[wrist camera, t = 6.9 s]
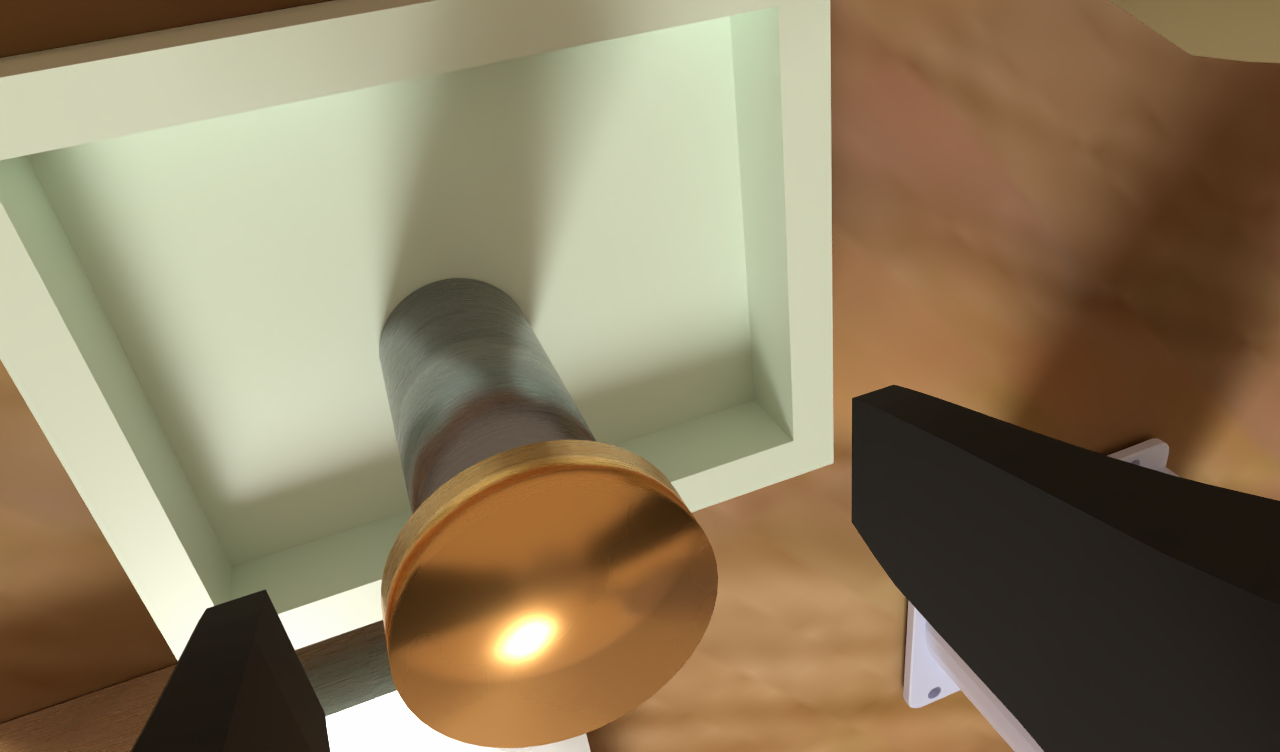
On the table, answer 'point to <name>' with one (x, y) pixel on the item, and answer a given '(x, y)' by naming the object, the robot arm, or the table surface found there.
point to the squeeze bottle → (1214, 26)
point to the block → (338, 671)
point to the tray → (405, 262)
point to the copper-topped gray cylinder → (524, 537)
